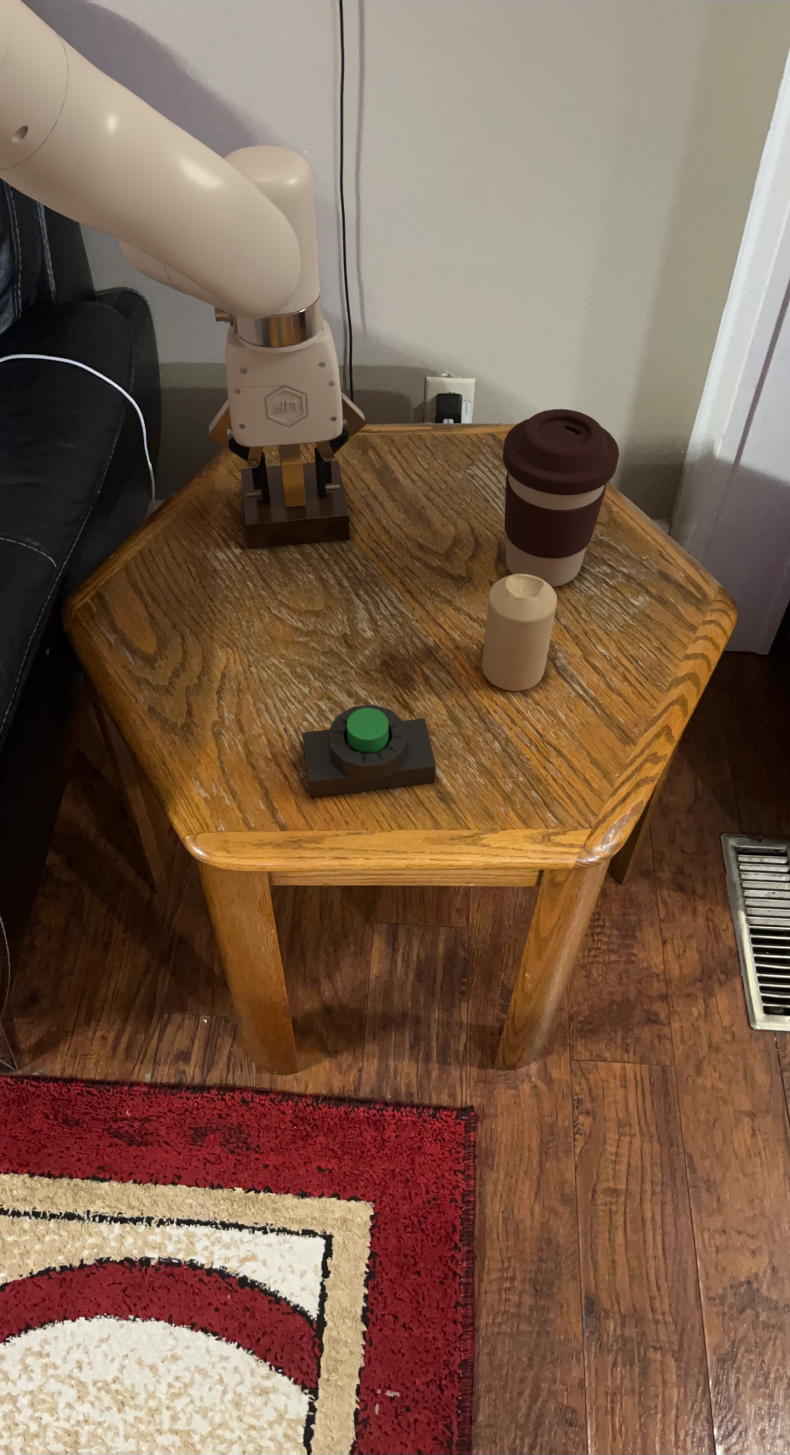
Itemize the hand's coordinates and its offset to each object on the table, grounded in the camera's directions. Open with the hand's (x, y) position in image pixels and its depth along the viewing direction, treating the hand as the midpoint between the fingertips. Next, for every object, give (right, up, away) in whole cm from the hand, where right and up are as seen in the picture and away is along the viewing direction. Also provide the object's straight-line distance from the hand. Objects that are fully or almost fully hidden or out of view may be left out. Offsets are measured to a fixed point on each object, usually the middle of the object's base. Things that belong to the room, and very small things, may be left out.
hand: (293, 489), depth 97 cm
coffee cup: (+24, -8, -2) cm, 26 cm away
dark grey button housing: (+8, -27, -18) cm, 33 cm away
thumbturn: (0, 0, 0) cm, 0 cm away
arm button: (+8, -24, -21) cm, 33 cm away
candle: (+21, -19, -11) cm, 30 cm away
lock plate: (0, -2, +2) cm, 3 cm away
